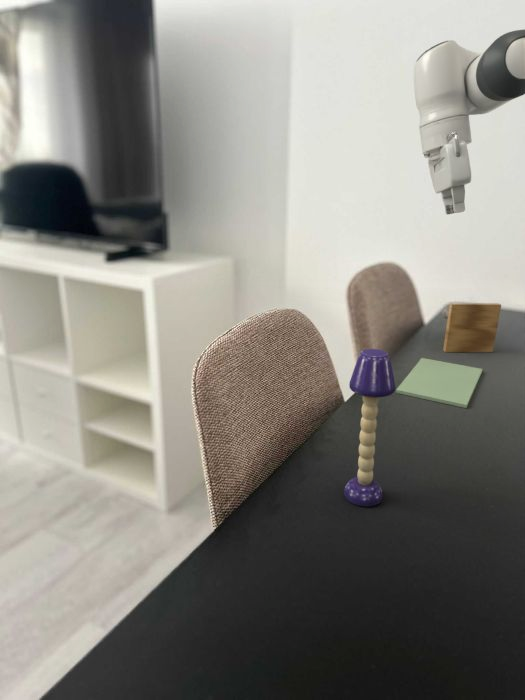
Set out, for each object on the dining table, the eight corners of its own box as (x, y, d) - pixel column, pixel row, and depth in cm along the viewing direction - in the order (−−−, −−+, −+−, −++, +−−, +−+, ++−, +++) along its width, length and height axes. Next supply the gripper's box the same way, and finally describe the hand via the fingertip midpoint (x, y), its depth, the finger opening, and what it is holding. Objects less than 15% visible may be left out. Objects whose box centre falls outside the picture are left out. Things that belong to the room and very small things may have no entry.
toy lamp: (332, 492, 57) (342, 351, 52) (356, 476, 60) (369, 342, 55) (368, 512, 54) (383, 364, 48) (392, 494, 57) (409, 353, 52)
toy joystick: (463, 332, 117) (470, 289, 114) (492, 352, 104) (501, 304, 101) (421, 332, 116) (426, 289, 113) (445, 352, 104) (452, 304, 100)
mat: (421, 360, 99) (421, 357, 98) (482, 372, 94) (482, 369, 93) (395, 392, 84) (396, 389, 84) (466, 408, 79) (467, 404, 79)
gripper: (475, 124, 86) (484, 207, 89) (453, 143, 105) (462, 211, 108) (436, 133, 87) (446, 215, 90) (422, 150, 107) (431, 217, 109)
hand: (455, 213), depth 99 cm, fingers open, 8 cm apart
